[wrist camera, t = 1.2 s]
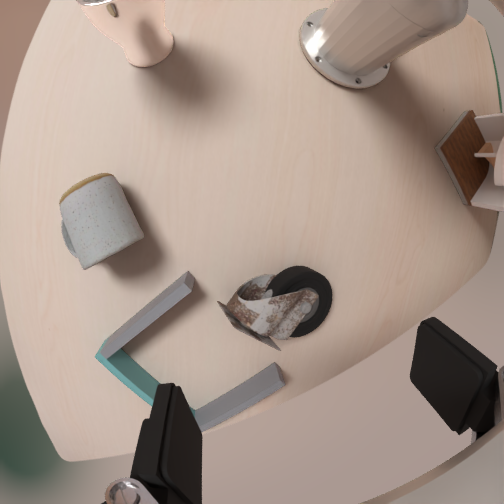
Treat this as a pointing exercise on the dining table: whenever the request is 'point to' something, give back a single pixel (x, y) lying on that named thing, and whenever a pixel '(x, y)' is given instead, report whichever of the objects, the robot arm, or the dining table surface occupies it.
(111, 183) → the ceramic mug
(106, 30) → the beer glass
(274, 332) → the caster wheel
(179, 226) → the dining table surface
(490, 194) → the white shelf stand
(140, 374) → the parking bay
